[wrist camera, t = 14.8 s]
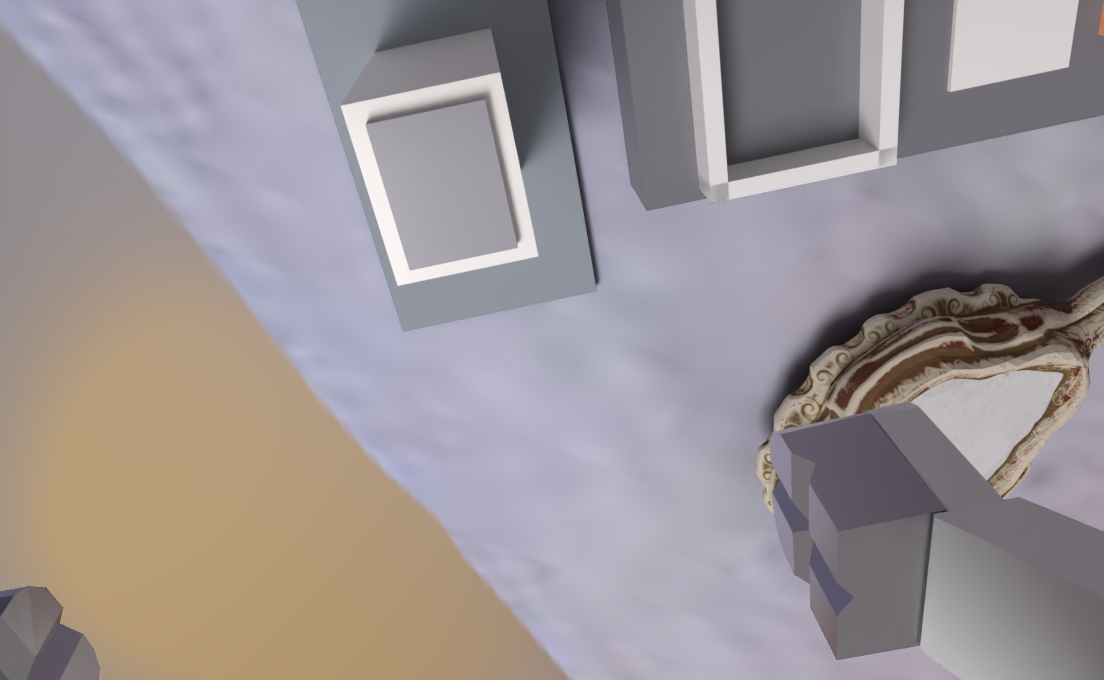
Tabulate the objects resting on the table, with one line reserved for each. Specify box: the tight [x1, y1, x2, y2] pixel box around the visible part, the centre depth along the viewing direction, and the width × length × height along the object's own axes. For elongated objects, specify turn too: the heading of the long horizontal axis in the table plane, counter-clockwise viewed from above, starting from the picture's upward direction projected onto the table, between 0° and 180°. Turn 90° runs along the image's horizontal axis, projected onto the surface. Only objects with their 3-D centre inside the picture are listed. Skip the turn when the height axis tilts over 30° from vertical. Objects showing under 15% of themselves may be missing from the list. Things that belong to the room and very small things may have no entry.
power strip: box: [606, 0, 1104, 211], centre depth 25 cm, size 8×18×4 cm, turn 100°
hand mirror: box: [755, 276, 1104, 514], centre depth 32 cm, size 11×6×30 cm
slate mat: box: [296, 0, 597, 332], centre depth 27 cm, size 16×8×1 cm, turn 10°
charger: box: [341, 28, 538, 286], centre depth 23 cm, size 5×4×8 cm
